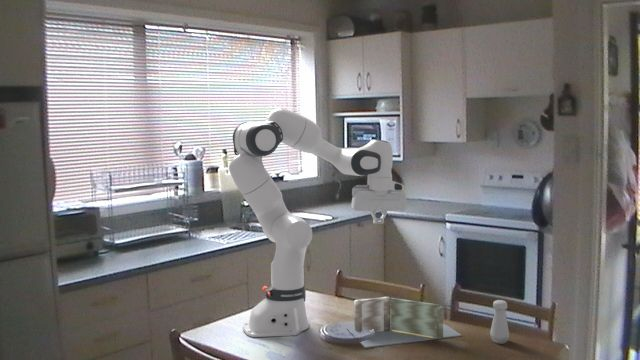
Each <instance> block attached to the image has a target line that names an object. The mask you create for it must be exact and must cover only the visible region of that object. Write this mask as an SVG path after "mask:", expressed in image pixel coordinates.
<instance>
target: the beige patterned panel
mask: <svg viewBox="0 0 640 360" xmlns="http://www.w3.org/2000/svg"><path fill="white" fill-rule="evenodd" d="M353 303H354V304H353V308H354V327H355V331H356V332H361V331H363V330H372V329H374V331H375V332H379V331H390V330H391V296H381V297H370V298H361V299H355V300H354V302H353Z"/></svg>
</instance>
